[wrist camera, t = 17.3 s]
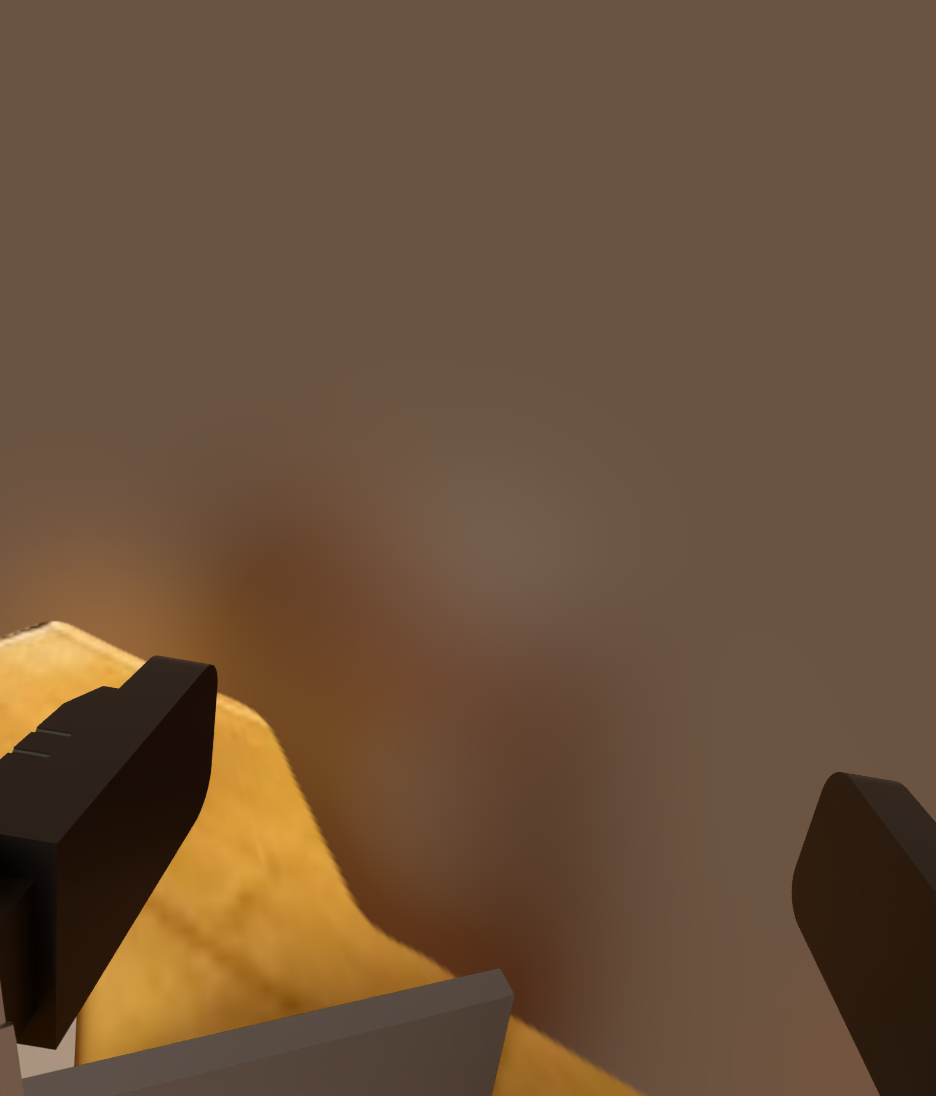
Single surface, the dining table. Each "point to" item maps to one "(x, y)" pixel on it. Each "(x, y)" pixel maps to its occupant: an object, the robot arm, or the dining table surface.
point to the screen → (324, 1051)
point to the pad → (48, 1056)
